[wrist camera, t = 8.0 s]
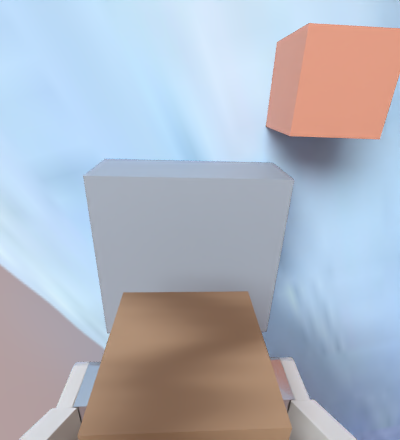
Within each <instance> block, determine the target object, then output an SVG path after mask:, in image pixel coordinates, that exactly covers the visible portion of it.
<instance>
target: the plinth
mask: <svg viewBox="0 0 400 440" xmlns="http://www.w3.org/2000/svg"><path fill="white" fill-rule="evenodd" d="M83 178H84V184H85V191H86V198H87V204H88V211H89V217H90V224H91V230H92V237H93V243H94V250H95V257H96V263H97V270H98V276H99V283H100V289H101V296H102V303H103V309H104V316H105V322H106V329H107V333H110V332H111V329H112V326H113V323H114V320H115V317H116V314H117V310H118V307H119V304H120V301H121V298H122V295H123V292H228V291H248V293H249V296H250V299H251V302H252V305H253V308H254V311H255V314H256V317H257V320H258V324H259V327H260V330H261V332H266V331H267V326H268V321H269V315H270V310H271V304H272V299H273V293H274V288H275V282H276V277H277V272H278V266H279V261H280V255H281V250H282V244H283V239H284V233H285V228H286V222H287V217H288V212H289V206H290V201H291V195H292V190H293V184H294V179H293V178H291V177H290V176H289V175H288V174H286V173H285V172H284V171H283V170H281V169H280V168H279V167H278V166H276V165H275V164H274V163H263V162H219V161H175V160H131V159H104V160H103V161H102V162H100V163H99V164H98V165H96V166H95V167H94V168H93V169H91V170H90V171H89V172H87V173H86V174H85V175H84V176H83Z"/></svg>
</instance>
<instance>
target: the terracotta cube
mask: <svg viewBox="0 0 400 440" xmlns="http://www.w3.org/2000/svg"><path fill="white" fill-rule="evenodd" d="M399 74H400V28H383V27H365V26H348V25H331V24H314V23H309V24H307V25H305V26H304V27H302V28H300V29H298V30H297V31H295V32H293V33H292V34H290V35H288V36H287V37H285V38H283V39H282V40H280V41H278V42H277V47H276V54H275V62H274V69H273V77H272V84H271V92H270V99H269V107H268V114H267V122H266V127H268V128H271V129H273V130H276V131H278V132H281V133H283V134H286V135H288V136H301V137H329V138H358V139H380V136H381V133H382V130H383V126H384V123H385V120H386V117H387V113H388V110H389V107H390V104H391V100H392V97H393V94H394V90H395V87H396V84H397V81H398V77H399Z"/></svg>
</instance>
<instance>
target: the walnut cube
mask: <svg viewBox="0 0 400 440" xmlns="http://www.w3.org/2000/svg"><path fill="white" fill-rule="evenodd" d="M291 430H292V426H291V423H290V420H289V416H288V413H287V410H286V407H285V404H284V401H283V398H282V395H281V392H280V389H279V385H278V382H277V379H276V376H275V373H274V370H273V367H272V364H271V361H270V358H269V355H268V351H267V348H266V345H265V342H264V339H263V336H262V333H261V330H260V327H259V324H258V320H257V317H256V314H255V311H254V308H253V305H252V302H251V299H250V296H249V293H248V291H228V292H123V295H122V298H121V301H120V304H119V307H118V310H117V314H116V317H115V320H114V323H113V326H112V329H111V332H110V335H109V338H108V342H107V345H106V348H105V351H104V354H103V357H102V360H101V363H100V367H99V370H98V373H97V376H96V379H95V382H94V385H93V388H92V392H91V395H90V398H89V401H88V404H87V407H86V410H85V413H84V417H83V420H82V423H81V426H80V429H79V432H78V435H77V437H78V440H289V437H290V434H291Z"/></svg>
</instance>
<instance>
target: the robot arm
mask: <svg viewBox="0 0 400 440" xmlns="http://www.w3.org/2000/svg"><path fill="white" fill-rule="evenodd" d="M270 361H271V364H272V367H273V370H274V373H275V376H276V379H277V382H278V385H279V389H280V392H281V395H282V398H283V401H284V404H285V407H286V410H287V413H288V416H289V420H290V423H291V426H292V430H291V434H290V437H289V440H357V439H356V438H355V437H354V436H353V435H352V434H351V433H349V432H348V431H347V430H346V429H345V428H344V427H343V426H342V425H341V424H340V423H339V422H338V421H337V420H336V419H334V418H333V417H332V416H331V415H330V414H329V413H328V412H327V411H326V410H325V409H324V408H323V407H322V406H321V405H319V404H318V403H317V402H316V401H315V400H310V398H309V395H308V393H307V391H306V388H305V386H304V384H303V381H302V379H301V376H300V374H299V372H298V369H297V367H296V364H295V362H294V360H293V359H292V358H291V357H282V358H278V357H271V358H270ZM100 363H101V362H77V363H76V364H75V365H74V366H73V369H72V371H71V373H70V376H69V378H68V381H67V383H66V385H65V387H64V390H63V392H62V395H61V397H60V400H59V402H58V404H57V407H56V408H52V409H50V410H49V411H48V412H47V413H46V414H45V415H44V416H43V417H42V418H41V419H40V420H39V421H38V422H37V423H36V424H35V425H33V426H32V427H31V428H30V429H29V430H28V431H27V432H26V433H25V434H24V435H23V436H22V437H21V438H20V439H19V440H78V437H77V435H78V432H79V429H80V426H81V423H82V420H83V417H84V413H85V410H86V407H87V404H88V401H89V398H90V395H91V392H92V388H93V385H94V382H95V379H96V376H97V373H98V370H99V367H100Z"/></svg>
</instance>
